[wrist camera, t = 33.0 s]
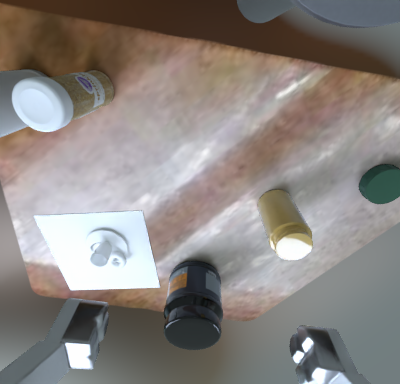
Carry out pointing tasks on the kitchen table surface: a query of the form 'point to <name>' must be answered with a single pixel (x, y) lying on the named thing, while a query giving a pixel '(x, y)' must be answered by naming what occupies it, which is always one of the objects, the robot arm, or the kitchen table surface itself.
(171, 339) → the supplement container
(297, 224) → the jam jar
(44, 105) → the sprinkles bottle
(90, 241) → the teacup and saucer
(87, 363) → the robot arm
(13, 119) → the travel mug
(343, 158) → the kitchen table surface
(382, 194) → the jar lid
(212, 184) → the kitchen table surface
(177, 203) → the kitchen table surface
